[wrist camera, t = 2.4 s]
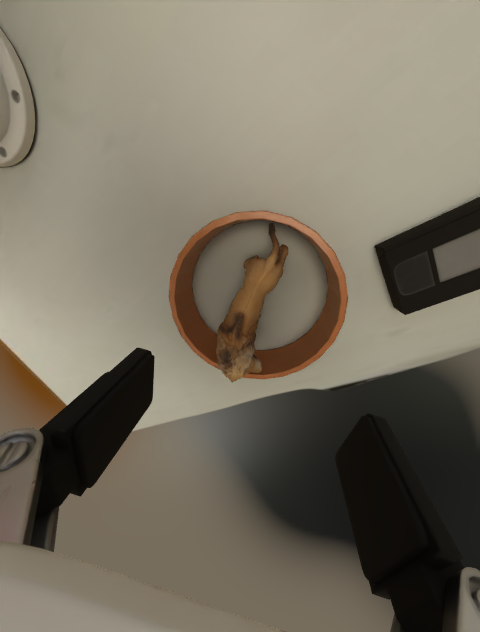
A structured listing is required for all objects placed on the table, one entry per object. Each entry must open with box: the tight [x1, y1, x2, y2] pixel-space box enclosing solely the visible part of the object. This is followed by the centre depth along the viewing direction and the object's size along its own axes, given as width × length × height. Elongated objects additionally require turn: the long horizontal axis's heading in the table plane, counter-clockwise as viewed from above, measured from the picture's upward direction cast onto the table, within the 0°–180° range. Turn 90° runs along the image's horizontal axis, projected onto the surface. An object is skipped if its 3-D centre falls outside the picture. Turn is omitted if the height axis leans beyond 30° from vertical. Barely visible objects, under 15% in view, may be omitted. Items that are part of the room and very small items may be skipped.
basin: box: [169, 211, 348, 379], centre depth 23 cm, size 17×17×5 cm
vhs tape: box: [375, 197, 480, 315], centre depth 19 cm, size 8×14×2 cm, turn 119°
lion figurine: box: [216, 223, 288, 382], centre depth 21 cm, size 15×5×9 cm, turn 169°
